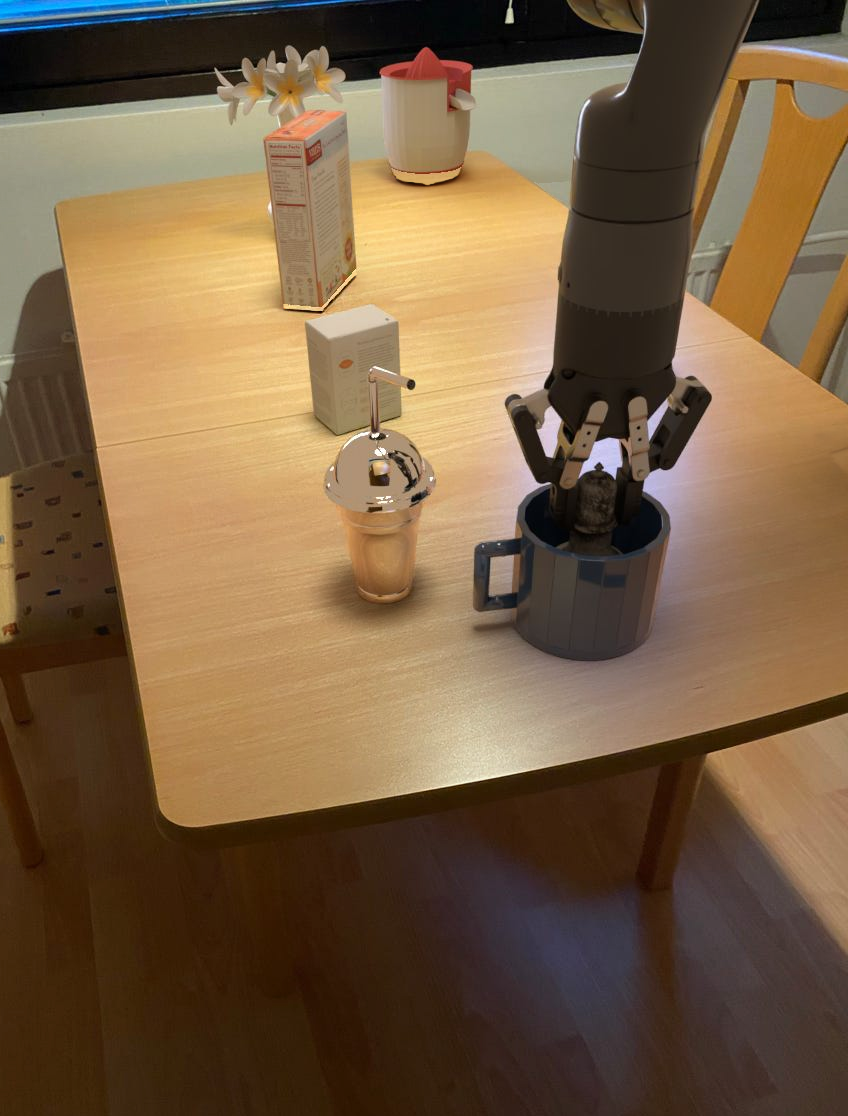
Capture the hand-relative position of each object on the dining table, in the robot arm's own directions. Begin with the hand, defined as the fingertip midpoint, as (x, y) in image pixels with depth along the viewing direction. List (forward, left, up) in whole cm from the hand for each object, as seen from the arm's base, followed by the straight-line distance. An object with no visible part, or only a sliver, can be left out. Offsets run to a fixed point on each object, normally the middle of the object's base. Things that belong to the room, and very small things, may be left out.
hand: (593, 521), depth 69 cm
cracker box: (+14, -74, -9) cm, 76 cm away
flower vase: (+15, -99, -9) cm, 101 cm away
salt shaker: (0, 0, -7) cm, 7 cm away
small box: (+13, -37, -9) cm, 40 cm away
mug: (+2, 0, -9) cm, 9 cm away
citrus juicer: (-11, -125, -9) cm, 126 cm away
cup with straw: (+15, -6, -9) cm, 18 cm away
